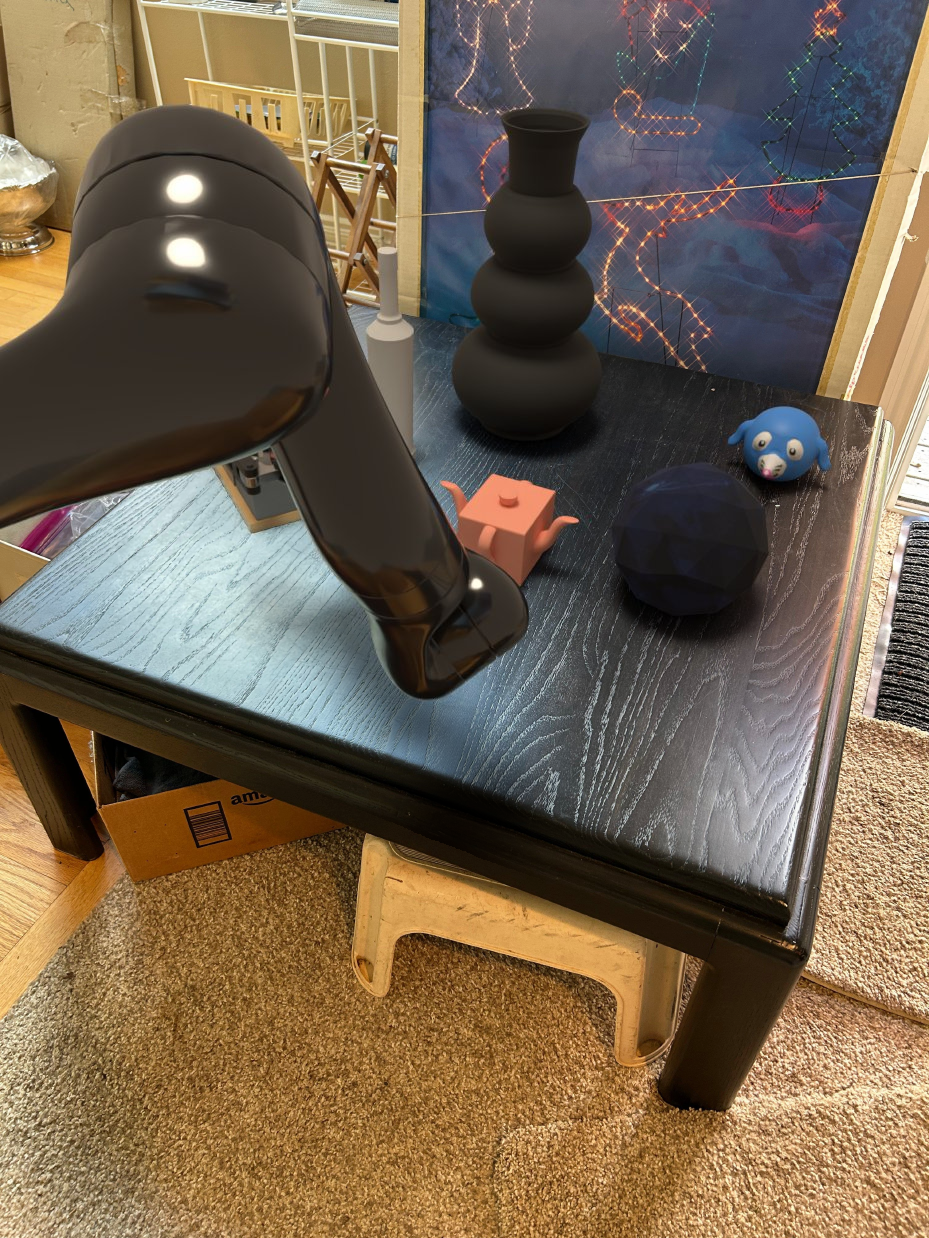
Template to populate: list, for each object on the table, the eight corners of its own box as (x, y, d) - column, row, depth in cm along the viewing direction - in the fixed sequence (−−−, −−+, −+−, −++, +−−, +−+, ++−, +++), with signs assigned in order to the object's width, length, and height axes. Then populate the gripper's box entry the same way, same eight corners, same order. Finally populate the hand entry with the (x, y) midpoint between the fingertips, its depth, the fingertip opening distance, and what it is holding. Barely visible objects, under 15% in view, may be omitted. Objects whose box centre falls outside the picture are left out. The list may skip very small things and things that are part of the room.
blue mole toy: (704, 492, 105) (720, 428, 99) (732, 445, 113) (748, 383, 107) (809, 522, 101) (831, 458, 95) (829, 471, 109) (851, 409, 103)
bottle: (368, 471, 106) (356, 257, 90) (378, 448, 110) (368, 239, 93) (411, 475, 106) (407, 262, 89) (419, 452, 110) (417, 243, 93)
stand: (251, 533, 97) (236, 442, 89) (210, 463, 107) (193, 377, 99) (307, 517, 99) (297, 428, 92) (262, 451, 109) (249, 365, 102)
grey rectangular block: (256, 521, 97) (243, 439, 90) (231, 479, 102) (217, 399, 96) (300, 509, 98) (291, 428, 92) (273, 468, 104) (262, 389, 97)
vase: (449, 387, 122) (452, 95, 98) (584, 387, 123) (619, 98, 99) (453, 461, 108) (458, 143, 85) (604, 461, 109) (651, 146, 86)
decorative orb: (555, 537, 89) (649, 472, 76) (647, 480, 97) (746, 413, 84) (634, 659, 89) (741, 614, 76) (719, 592, 97) (829, 541, 84)
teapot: (550, 613, 89) (558, 546, 83) (414, 569, 93) (413, 503, 87) (590, 547, 97) (599, 481, 91) (463, 509, 101) (465, 445, 95)
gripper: (435, 439, 71) (354, 353, 82) (261, 482, 66) (198, 385, 76) (434, 516, 76) (358, 426, 87) (273, 562, 71) (212, 461, 81)
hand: (283, 407), depth 81 cm, fingers open, 8 cm apart
